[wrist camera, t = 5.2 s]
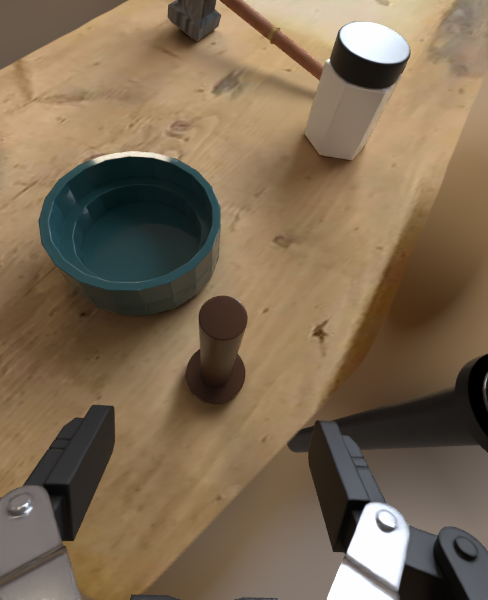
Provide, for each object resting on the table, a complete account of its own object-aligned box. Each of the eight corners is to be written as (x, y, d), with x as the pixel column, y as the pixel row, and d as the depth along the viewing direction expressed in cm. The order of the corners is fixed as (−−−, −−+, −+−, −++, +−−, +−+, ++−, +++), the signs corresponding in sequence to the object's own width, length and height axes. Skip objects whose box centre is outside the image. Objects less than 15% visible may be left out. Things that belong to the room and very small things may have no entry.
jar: (375, 154, 45) (429, 60, 35) (326, 167, 43) (366, 71, 32) (342, 113, 49) (382, 15, 38) (295, 123, 46) (322, 22, 36)
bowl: (194, 183, 40) (193, 140, 34) (238, 294, 34) (244, 263, 28) (56, 209, 36) (30, 166, 30) (78, 339, 30) (51, 313, 25)
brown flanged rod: (232, 341, 32) (251, 264, 19) (252, 393, 30) (286, 346, 17) (180, 357, 30) (162, 288, 18) (196, 413, 28) (189, 379, 16)
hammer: (381, 40, 39) (178, -129, 37) (316, 139, 54) (167, 21, 52) (397, 20, 42) (207, -138, 40) (331, 120, 56) (189, 7, 54)
